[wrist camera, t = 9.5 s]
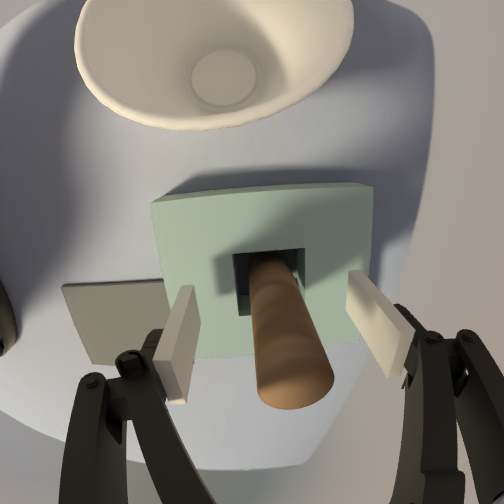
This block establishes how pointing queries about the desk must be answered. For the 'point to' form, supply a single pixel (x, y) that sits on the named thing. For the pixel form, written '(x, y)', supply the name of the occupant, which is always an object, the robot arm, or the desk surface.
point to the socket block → (264, 239)
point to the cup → (209, 57)
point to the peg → (284, 337)
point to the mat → (116, 316)
